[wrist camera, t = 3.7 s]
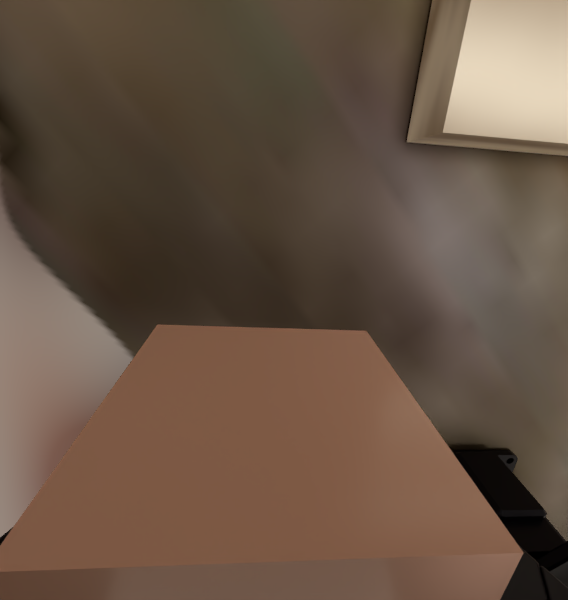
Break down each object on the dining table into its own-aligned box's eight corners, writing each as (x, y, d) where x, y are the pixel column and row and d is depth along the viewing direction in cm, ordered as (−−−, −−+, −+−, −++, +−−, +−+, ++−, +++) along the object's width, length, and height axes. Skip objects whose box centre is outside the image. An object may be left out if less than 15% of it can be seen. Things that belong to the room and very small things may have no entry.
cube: (340, 480, 10) (416, 766, 5) (170, 482, 9) (75, 799, 4) (366, 330, 8) (524, 552, 3) (157, 324, 7) (-20, 572, 3)
